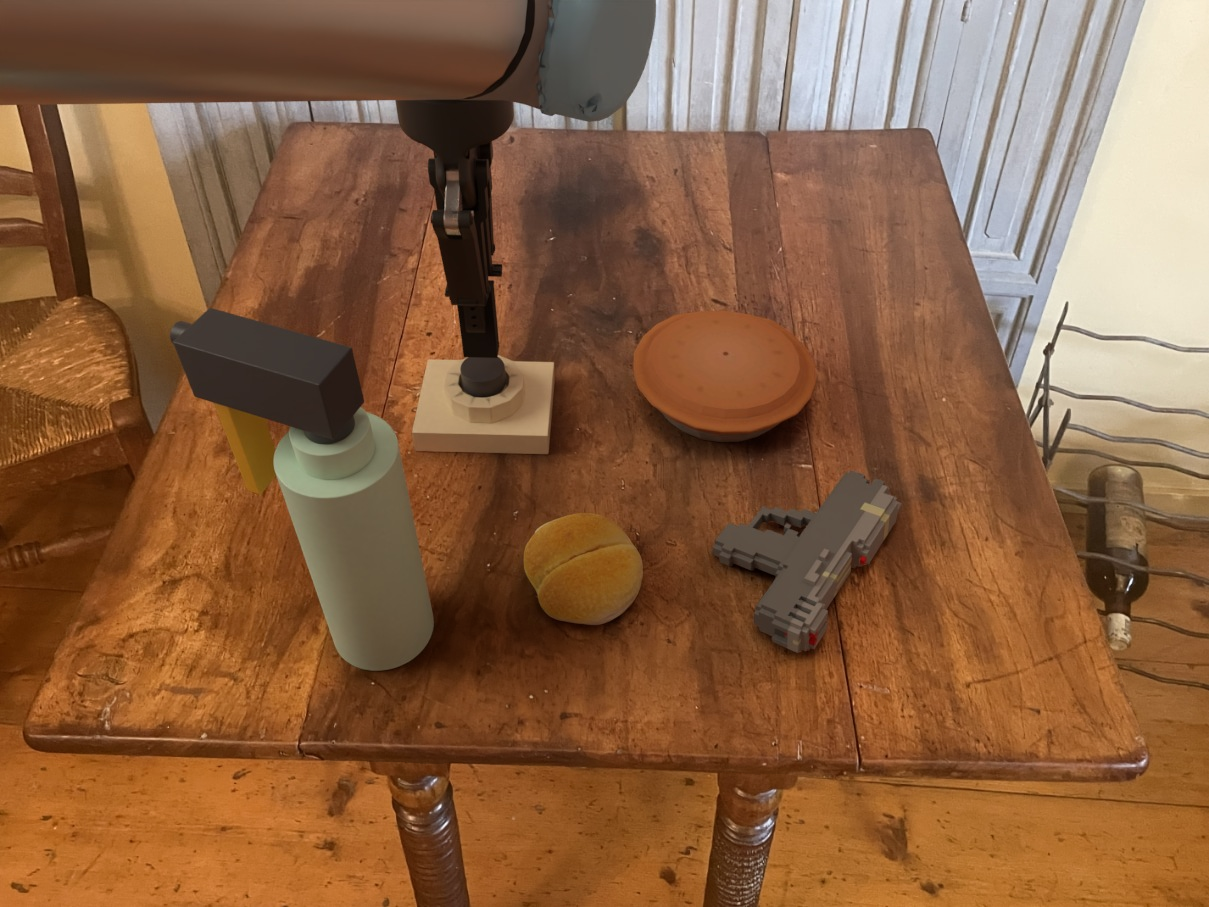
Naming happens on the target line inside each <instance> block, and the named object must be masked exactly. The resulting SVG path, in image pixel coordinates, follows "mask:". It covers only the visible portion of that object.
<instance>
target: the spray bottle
mask: <svg viewBox="0 0 1209 907" xmlns="http://www.w3.org/2000/svg"><path fill="white" fill-rule="evenodd" d="M169 339H170V342H171V344H172V345H173V346H174V348H175V351H176V353H177V356H178V359H179V362H180V364H181V367H182V369H183V372H184V374H185V377H186V379H187V381H188V384H189V386H190V389H191V391H192V394H193V397H195V398H198V399H200V400H204V401H207V402H210V403H213V404H214V403H217V404H220V405H223V406H226V407H229V408H233V409H236V410H239V411H242V412H246V413H249V414H252V415H255V416H259V417H262V418H265V419H266V420H269V421H272V422H274V423H275V422H276V423H278V424H282V425H284V426H288V427H289V430H288V431H287V432H286V433H285V434H284V435H283V437H282V438H281V439H280V440H279V442H278V444H277V446H276V447H275V449H276V451H275V454H274V470H275V473H276V480H277V481H278V485H279V487H280V490H281V493H282V496H283V499H284V502H285V505H286V507H287V511H288V514H289V517H290V519H291V522H292V525H293V528H294V532H295V534H296V537H297V540H298V542H299V546H300V548H301V551H302V554H303V557H304V560H305V563H306V566H307V569H308V572H309V574H310V577H311V580H312V583H313V586H314V589H315V592H316V596H317V598H318V601H319V604H320V607H321V609H322V613H323V616H324V618H325V621H326V624H327V628H328V630H329V633H330V636H331V638H332V642H333V644H334V647H335V650H336V651H337V653H338V655H339V656H340V657H341V658H342V659H343V660H344V661H345V662H346V663H348V664H350V665H351V666H352V667H355V668H358V669H361V670H365V671H372V672H373V671H375V672H379V671H388V670H392V669H393V670H394V669H395V668H398V667H401V666H403V665H405V664H407V663H409V662H411V661H412V660H414V659H415V658H416V657H417V656H419V654H421V652H422V651H423V650H425V648H426V647H427V645H428V644H429V642H430V639H431V637H432V635H433V632H434V626H435V619H434V613H433V608H432V603H431V597H430V593H429V588H428V584H427V579H426V574H425V568H424V563H423V558H422V552H421V548H420V543H419V538H418V534H417V529H416V523H415V519H414V514H413V513H414V512H413V509H412V504H411V500H410V495H409V494H410V493H409V488H408V484H407V479H406V474H405V469H404V464H403V460H402V456H401V455H402V454H401V448H400V445H399V440H398V436H397V434H396V432H395V430H394V429H393V427H392V426H391V425H390V424H389V423H388V422H387V421H386V420H384V419H383V418H381V417H380V416H378V415H376V414H373V413H370V412H368V411H366V410H365V409H364V408H363V407H362V406H363V404H365V399H364V394H363V391H362V386H361V381H360V376H359V372H358V369H357V364H356V359H355V355H354V351H353V347H352V346H348V345H344V344H341V343H338V342H334V341H331V340H326V339H323V338H319V337H316V336H312V335H308V334H305V333H302V332H298V331H295V330H291V329H288V328H284V327H280V326H277V325H273V324H269V323H266V322H263V321H260V320H255V319H252V318H249V317H245V316H241V315H237V314H234V313H230V312H227V311H224V310H221V309H217V308H213V307H209V308H208V309H207V310H206V311H204V312H203V313H202V314H201V315H200V316H199V317H198V318H197V319H196V320H195V321H194V322H192V323H190V322H187V321H183V320H178V321H177V322H175V323H174V324H173V325H172V327H171V328H170V332H169Z"/></svg>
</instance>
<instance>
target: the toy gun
mask: <svg viewBox="0 0 1209 907" xmlns="http://www.w3.org/2000/svg"><path fill="white" fill-rule="evenodd" d="M870 481H871V480H870V479H867V478H866V474H864V473H862V472H858V471H855V470H852V469H850V470H849V471H848V472H846V471H845V472H844V474H843V475H842V476H841V478H840V479H839V481H838V482H837V483H836V484H835V486H834V487H833V489H832V490H831V491H830V493H829V495H827V497H826V499H825V500H824V501H823V503H822V504H821V505H820V507H819V508H818V509H817V511H816V512H813V511H811V510H808V509H806V508H802V510H797V509H794V508H790V509H789V510H786V509H783V508H780V507H777V506H773V508H769V507H767V506H764V505H763V506H762V507H760V509H759V510H758V512H757V513H756V514H755V515H754V517H753V518H752V520H750V523H748V525H747V524H744V523H739V524H738V525H736V524H734V523H730V522H729V523H727V524H726V526H725V527H724V528H723V529H722V530H721V532H720V533H719V534H718V536H717V537H716V538H715V540H714V545H713V546H712V555H713V556H715V557H717V558H718V559H719V560H718V561H719V563H721V564H722V565H725V566H728V567H733V566H734V564H735V565H737V566H739V567H741V568H744V569H747V570H748V571H753V572H754V571H755V569H758V570H759V571H762V572H765V573H767V574H769V575H772V576H775V578H774V580H773V582H772V583H771V584H770V586H769V587H768V589H767V590H766V591H765V592H764V594H763V596H762V597H761V598H760V600H759V601H758V603H756V606H755V610H754V612H753V626H756V627H758V631H760V632H761V633H764V634H766V635H768V636H771V642H772V643H775V644H777V645H779V646H781V647H783V648H786V649H788V650H790V651H792V652H795V653H797V654H799V653H802V651H804V652H807V651H808V652H809V651H810V649H811V650H815V649H816V647H817V646H818V644H819V643H820V641H821V640H822V639H823V636H824V635H825V633H826V632H827V630H828V618H829V611H828V610H827V609H828V608H829V606H830V605H831V603H832V602H833V600H834V598H835V597H836V595H837V594H838V592H839V591H840V589H841V588H842V587H843V585H844V583H845V582H846V580H847V579H848V577H849V576H850V574H851V572H852V571H851V570H852V568H853V569H856V568H857V567H859V568H863V567H864V566H869V565H870V564H871V561H872V560H873V558H874V557H875V555H876V553H877V552H878V550H879V549H880V547H881V546H882V545H883V543H884V541H885V539H886V538H887V536H888V535H889V533H890V532H891V530H892V528H893V527H894V525H895V524H896V522H897V517H898V513H899V511H900V510H901V508H902V505H903V503H902V502H900V501H898V497H897V496H894V495H891V494H890V486H889V485H888V486H887V485H885V484H886V481H884V480H882V479H879V478H874V479H873V481H872V482H871V483H870ZM769 522H773V523H776V524H779V525H781V526H783V534H781V533H779V532H776V531H773V530H771V529H766V530H765V531H762V530H760V529H759V527H760V526H761V525H762V523H765V524H769ZM792 525H793V526H795V527H797V528H802V527H803V526H805V528H804V529H803V530H802V532H801V534H799V532H798V531H796V530H793V529H792Z"/></svg>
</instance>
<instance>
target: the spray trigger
mask: <svg viewBox="0 0 1209 907" xmlns="http://www.w3.org/2000/svg"><path fill="white" fill-rule="evenodd" d="M213 405H214V408H215V410H216V413H217V415H218V418H219V420H220V423H221V426H222V428H223V432H224V434H225V437H226V439H227V441H228V444H229V447H230V449H231V452H232V455H233V457H234V460H235V462H236V465H237V467H238V470H239V472H240V476H241V477H242V480H243V483H244V486H245V488H246V491H247V492H249V493H250V492H251V493H253V494H257V495H259V496H260V495H262V494H263V493H264V491H265V490H266V489H267V488H268V486H269V485H270V484H271V483H272V482H273V480H274V479H275V478H277V476H276V473H275V470H274V454H275V451H276V446H275V444H274V443H275V442H274V440H273V437H272V434H271V431H270V428H269V426H268V422H267V419H265V418H262V417H259V416H255V415H252V414H249V413H246V412H242V411H239V410H236V409H233V408H229V407H226V406H223V405H220V404H217V403H213Z"/></svg>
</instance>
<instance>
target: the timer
mask: <svg viewBox="0 0 1209 907" xmlns="http://www.w3.org/2000/svg"><path fill="white" fill-rule="evenodd" d="M498 357H499V358H500V359H501V360H502V361H503V362H504V365H505V376H506V384H505V387H504V388H503V390H502V391H501V392H499V393H498V394H496V395H494V396H491V397H485V398H481V397H475V396H472V395H470V394H468V393H467V392H466V391H465V390H464V388H463V386H462V378H461V370H460V368H461V365H462V363H463V361H464V360H465V359H467V358H468V357H464V358H462V359H441V358H440V359H436V358H435V359H434V358H428V359H427V362H426V365H425V366H426V367H425V371H424V375H423V380H422V384H421V389H420V394H419V398H418V402H417V407H416V412H415V416H414V420H413V424H412V429H411V436H412V441H413V446H414V451H415V452H434V453H435V452H437V453H438V452H439V453H441V452H442V453H475V454H476V453H479V454H518V455H519V454H520V455H549V453H550V443H551V442H550V441H551V430H552V420H553V418H552V417H553V405H554V395H555V382H556V378H555V373H556V372H555V362H554V361H525V360H523V361H521V360H519V361H518V360H512V359H510V358H506V357H505V356H502V355H500V354H498Z"/></svg>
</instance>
